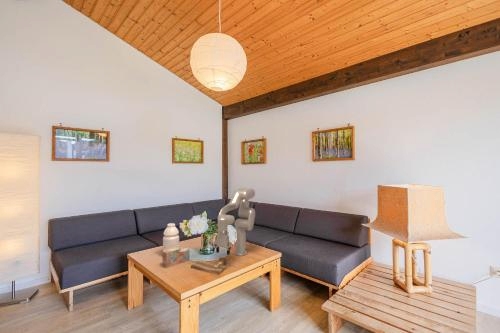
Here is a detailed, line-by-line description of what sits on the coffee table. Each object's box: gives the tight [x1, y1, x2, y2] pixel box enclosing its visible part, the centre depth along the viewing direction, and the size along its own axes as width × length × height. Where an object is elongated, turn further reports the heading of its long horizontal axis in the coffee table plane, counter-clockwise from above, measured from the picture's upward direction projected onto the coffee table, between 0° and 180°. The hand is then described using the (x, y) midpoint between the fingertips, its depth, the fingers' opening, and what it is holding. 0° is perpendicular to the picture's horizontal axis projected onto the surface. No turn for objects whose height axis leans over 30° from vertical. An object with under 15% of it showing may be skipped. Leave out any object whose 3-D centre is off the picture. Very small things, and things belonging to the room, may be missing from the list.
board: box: [190, 260, 227, 275], centre depth 184 cm, size 11×26×2 cm, turn 66°
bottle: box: [162, 222, 180, 252], centre depth 210 cm, size 14×14×28 cm
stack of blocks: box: [161, 247, 190, 269], centre depth 193 cm, size 21×6×12 cm, turn 138°
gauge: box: [214, 257, 227, 268], centre depth 185 cm, size 12×5×6 cm, turn 156°
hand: (223, 253), depth 189 cm, fingers open, 9 cm apart
